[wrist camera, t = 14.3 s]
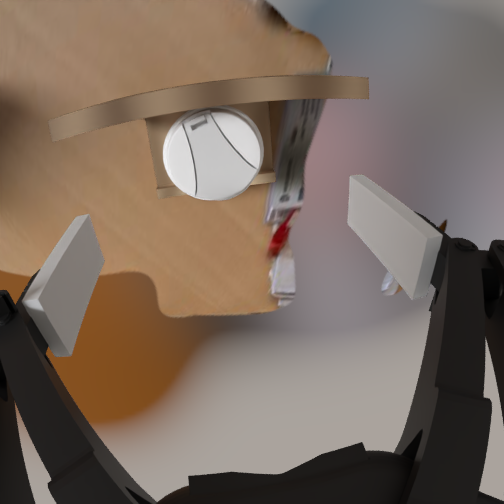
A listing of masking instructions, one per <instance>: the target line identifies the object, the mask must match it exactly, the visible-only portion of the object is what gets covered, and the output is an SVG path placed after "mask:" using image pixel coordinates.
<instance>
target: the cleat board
mask: <svg viewBox="0 0 504 504" xmlns="http://www.w3.org/2000/svg"><path fill="white" fill-rule="evenodd" d="M329 98H331V99H333V98H334V99H335V98H338V99H341V98H342V99H347V98H348V99H369V81H368V78H365V77H351V76H328V75H286V76H265V77H251V78H239V79H229V80H220V81H211V82H204V83H197V84H190V85H184V86H177V87H172V88H166V89H161V90H156V91H151V92H146V93H141V94H136V95H132V96H128V97H124V98H119V99H115V100H112V101H108V102H104V103H101V104H97V105H94V106H91V107H87V108H84V109H81V110H78V111H75V112H72V113H69V114H66V115H63V116H60V117H57V118H54V119H51V120H49V121H48V125H49V130H50V134H51V139H52V143H53V142H56V141H59V140H62V139H65V138H69V137H72V136H75V135H79V134H82V133H86V132H89V131H93V130H97V129H101V128H104V127H108V126H112V125H117V124H121V123H125V122H129V121H134V120H139V119H143V118H145V120H146V126H147V132H148V138H149V143H150V149H151V155H152V160H153V165H154V171H155V176H156V181H157V186H158V187H157V195H158V199H163V198H168V197H174V196H180V195H186V193H184V192H183V191H181V190H180V189H179V188H178V187H177V186H176V185H175V184H174V183H173V182H172V180H171V179H170V177H169V176H168V174H167V171H166V169H165V166H164V162H163V146H164V142H165V138H166V136H167V134H168V132H169V130H170V128H171V127H172V125H173V124H174V123H175V122H176V121H177V119H178V118H179V117H181V116H182V115H183V114H185V113H186V112H188V111H190V110H193V109H200V108H207V107H214V106H222V105H227V106H230V107H234V108H236V109H238V110H240V111H242V112H243V113H244V114H246V115H247V116H248V117H249V118H250V119H251V120H252V121H253V122H254V123H255V125H256V126H257V128H258V130H259V132H260V134H261V137H262V140H263V146H264V156H263V162H262V165H261V168H260V170H259V172H258V174H257V176H256V177H255V179H254V180H253V181H252V183H251V184H250V185H255V184H263V183H271V182H276V175H275V171H274V170H273V160H272V145H271V130H270V116H269V103H268V101H276V100H294V99H329Z"/></svg>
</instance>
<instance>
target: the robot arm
mask: <svg viewBox="0 0 504 504" xmlns="http://www.w3.org/2000/svg"><path fill="white" fill-rule="evenodd" d="M347 224H348V225H349V226H350V227H351V228H352V229H353V231H354V232H355V233H356V234H357V235H358V236H359V237H360V238H361V240H362V241H363V242H364V243H365V244H366V245H367V246H368V247H369V248H370V250H371V251H372V252H373V253H374V254H375V256H376V257H377V258H378V259H379V260H380V261H381V263H382V264H383V265H384V266H385V267H386V269H387V270H388V271H389V272H390V273H391V275H392V276H393V277H394V278H395V279H396V281H397V282H398V283H399V284H400V285H401V287H402V288H403V289H404V290H405V292H406V293H407V294H408V295H409V297H410V298H411V299H412V300H414V299H417V298H421V297H424V296H427V294H428V291H429V287H430V284H432V285H433V286H434V287H435V288H436V291H435V294H434V297H433V300H432V303H431V306H430V309H429V311H431V318H430V324H429V330H428V335H427V341H426V346H425V351H424V356H423V360H422V365H421V369H420V374H419V378H418V382H417V386H416V390H415V394H414V398H413V402H412V405H411V408H410V412H409V415H408V418H407V422H406V425H405V428H404V431H403V434H402V437H401V439H400V441H399V443H398V445H397V447H396V449H395V451H394V453H392V452H386V451H366V450H365V448H364V445H363V443H362V442H361V443H358V444H355V445H352V446H348V447H345V448H341V449H338V450H335V451H331V452H328V453H324V454H321V455H319V456H317V457H315V458H314V459H312V460H310V461H308V462H305V463H303V464H301V465H300V466H297V467H295V468H293V469H291V470H289V471H287V472H285V473H282V474H274V475H273V474H253V473H238V472H226V473H217V474H207V475H195V476H188V478H189V486H186V487H183V488H181V489H178V490H176V491H174V492H172V493H170V494H168V495H167V496H165V497H164V498H162V499H161V500H160V501H158V502H156V501H155V500H154V499H153V498H152V497H151V496H150V495H149V494H147V493H146V492H145V491H144V490H143V489H142V488H141V487H140V486H139V485H138V484H137V483H136V482H135V481H134V479H133V478H132V477H131V476H130V475H129V474H128V473H127V471H126V470H125V469H124V468H123V467H122V466H121V464H120V463H119V462H118V461H117V459H116V458H115V457H114V456H113V454H112V453H111V452H110V451H109V449H108V448H107V447H106V446H105V445H104V443H103V442H102V440H101V439H100V438H99V436H98V435H97V434H96V432H95V431H94V429H93V428H92V427H91V425H90V424H89V422H88V421H87V420H86V418H85V417H84V415H83V414H82V412H81V411H80V409H79V408H78V406H77V405H76V403H75V402H74V400H73V398H72V397H71V395H70V394H69V392H68V391H67V389H66V387H65V386H64V384H63V382H62V381H61V379H60V377H59V375H58V374H57V372H56V370H55V369H54V367H53V365H52V363H51V361H50V360H49V358H48V357H47V356H46V351H47V348H48V346H49V348H50V349H51V351H52V352H53V354H54V355H55V357H62V356H71V355H72V352H73V348H74V345H75V342H76V338H77V335H78V332H79V329H80V326H81V323H82V320H83V317H84V314H85V311H86V309H87V306H88V303H89V300H90V297H91V295H92V292H93V289H94V287H95V284H96V282H97V279H98V276H99V274H100V271H101V269H102V266H103V264H104V261H105V260H104V258H103V255H102V252H101V249H100V246H99V243H98V240H97V237H96V234H95V231H94V228H93V225H92V222H91V218H90V215H89V214H86V215H82V216H77V217H76V218H75V219H74V220H73V222H72V223H71V224H70V226H69V227H68V229H67V230H66V232H65V233H64V234H63V236H62V237H61V239H60V240H59V242H58V243H57V245H56V246H55V248H54V249H53V251H52V252H51V254H50V255H49V257H48V258H47V260H46V261H45V263H44V265H43V266H42V268H41V269H39V270H38V271H37V272H36V273H35V274H34V275H33V276H32V278H31V279H30V281H29V282H28V286H26V287H25V289H24V292H22V294H21V296H20V298H19V299H18V301H17V303H16V305H15V304H14V302H13V300H12V298H11V296H10V294H9V293H8V291H7V290H0V504H35V501H34V498H33V494H32V491H31V487H30V483H29V479H28V475H27V471H26V467H25V462H24V458H23V453H22V448H21V443H20V437H19V431H18V425H17V418H16V410H15V403H16V405H17V408H18V410H19V413H20V415H21V417H22V420H23V422H24V425H25V427H26V429H27V431H28V434H29V436H30V438H31V440H32V442H33V444H34V446H35V448H36V450H37V452H38V454H39V456H40V458H41V460H42V462H43V464H44V466H45V468H46V469H47V471H48V473H49V475H50V477H51V481H50V482H49V483H48V489H49V491H50V493H51V495H52V497H53V498H54V500H55V501H56V503H57V504H504V501H502V500H499V499H497V498H494V497H492V496H489V495H486V494H484V493H482V492H480V491H479V487H480V483H481V478H482V474H483V469H484V464H485V458H486V452H487V446H488V439H489V432H490V424H491V414H492V402H491V400H490V399H488V398H484V396H483V395H484V394H483V392H484V377H485V336H486V340H487V343H488V347H489V351H490V355H491V359H492V363H493V367H494V372H495V377H496V382H497V387H498V392H499V397H500V403H501V410H502V416H503V424H504V240H493V241H492V242H491V245H490V248H489V251H486V250H478V247H477V246H476V245H475V244H474V243H472V242H471V241H469V240H466V239H463V238H450V237H449V236H448V235H447V234H446V233H444V232H443V231H442V230H441V229H440V228H438V227H436V225H434V224H433V223H432V222H430V220H428V219H427V218H426V217H424V216H423V215H421V214H419V213H416V212H414V211H412V210H411V209H409V208H408V207H407V206H406V205H404V204H403V203H402V202H400V201H399V200H398V199H396V198H395V197H394V196H392V195H391V194H390V193H388V192H387V191H385V190H384V189H383V188H381V187H380V186H379V185H377V184H376V183H374V182H373V181H371V180H370V179H369V178H367V177H366V176H364V175H351V176H350V181H349V204H348V220H347ZM14 400H15V401H14Z"/></svg>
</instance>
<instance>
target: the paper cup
mask: <svg viewBox="0 0 504 504" xmlns="http://www.w3.org/2000/svg"><path fill="white" fill-rule="evenodd" d="M263 156H264V146H263V140H262V137H261V134H260V132H259V130H258V128H257V126H256V125H255V123H254V122H253V121H252V120H251V119H250V118H249V117H248V116H247V115H246V114H244V113H243V112H242V111H240V110H238V109H236V108H234V107H230V106H227V105H222V106H214V107H207V108H200V109H193V110H190V111H188V112H186V113H185V114H183V115H182V116H181V117H179V118H178V119H177V121H176V122H175V123H174V124H173V125H172V127H171V128H170V130H169V132H168V134H167V136H166V138H165V142H164V146H163V162H164V166H165V169H166V171H167V174H168V176H169V177H170V179H171V180H172V182H173V183H174V184H175V185H176V186H177V187H178V188H179V189H180V190H181V191H183V192H184V193H186V194H188V195H190V196H192V197H195V198H198V199H202V200H228V199H231V198H233V197H235V196H237V195H239V194H241V193H242V192H244V191H245V190H247V188H248V187H249V185H250V184H251V183H252V181H253V180H254V179H255V177H256V176H257V174H258V172H259V170H260V168H261V165H262V162H263Z"/></svg>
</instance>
